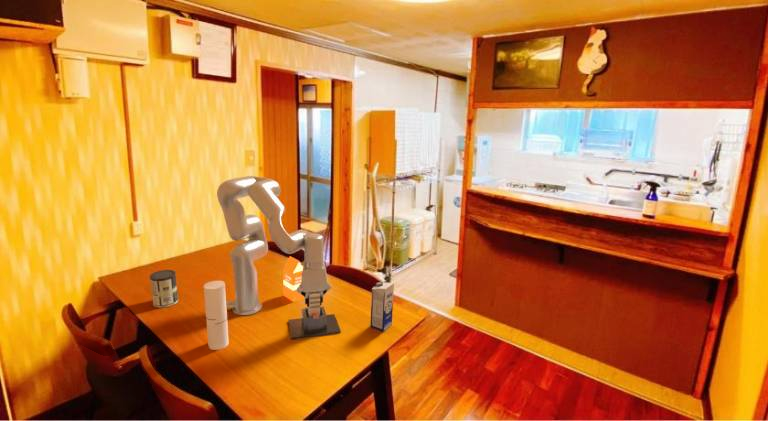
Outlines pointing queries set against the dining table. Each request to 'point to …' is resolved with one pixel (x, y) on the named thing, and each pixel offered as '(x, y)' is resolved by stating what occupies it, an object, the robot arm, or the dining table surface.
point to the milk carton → (382, 306)
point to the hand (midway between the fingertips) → (314, 304)
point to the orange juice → (292, 279)
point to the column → (314, 303)
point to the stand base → (313, 325)
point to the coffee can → (164, 288)
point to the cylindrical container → (216, 314)
